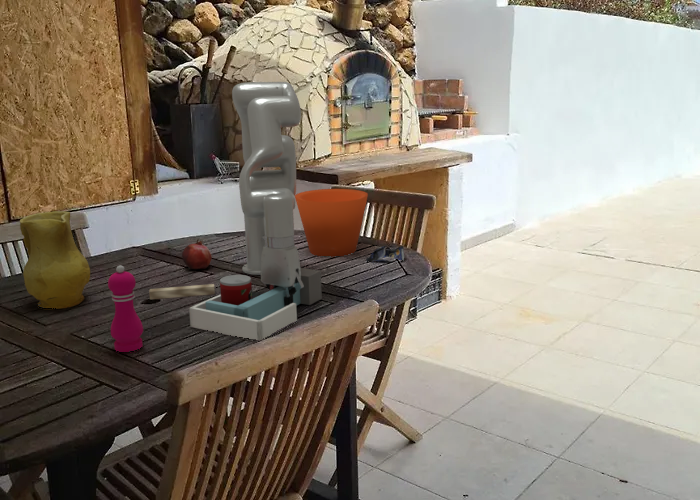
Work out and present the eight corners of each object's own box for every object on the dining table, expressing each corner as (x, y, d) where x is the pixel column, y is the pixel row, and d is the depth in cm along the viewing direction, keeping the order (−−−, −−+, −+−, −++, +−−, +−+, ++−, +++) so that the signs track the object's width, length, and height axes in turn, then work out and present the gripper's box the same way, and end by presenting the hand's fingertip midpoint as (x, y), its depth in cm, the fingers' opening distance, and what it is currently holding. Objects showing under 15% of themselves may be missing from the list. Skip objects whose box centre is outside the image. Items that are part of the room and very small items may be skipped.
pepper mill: (116, 342, 167) (107, 261, 162) (147, 341, 167) (139, 260, 162) (109, 354, 160) (99, 270, 155) (141, 353, 160) (132, 269, 155)
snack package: (385, 268, 224) (410, 260, 231) (382, 249, 223) (407, 241, 231) (360, 267, 233) (385, 260, 241) (357, 248, 232) (382, 241, 240)
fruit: (177, 271, 225) (174, 240, 222) (194, 263, 233) (192, 234, 231) (201, 273, 221) (199, 243, 219) (217, 265, 230) (215, 236, 227)
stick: (214, 292, 204) (214, 283, 203) (214, 295, 201) (214, 286, 201) (150, 297, 200) (149, 289, 200) (150, 300, 198) (149, 291, 197)
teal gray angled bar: (277, 290, 201) (276, 264, 199) (321, 298, 194) (320, 270, 192) (207, 324, 176) (204, 294, 174) (254, 334, 169) (253, 303, 167)
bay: (229, 308, 189) (227, 291, 187) (296, 322, 178) (296, 303, 177) (190, 326, 176) (189, 307, 175) (260, 342, 165) (259, 322, 164)
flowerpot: (346, 264, 229) (345, 204, 224) (283, 255, 241) (280, 198, 235) (381, 246, 250) (380, 191, 245) (321, 239, 262) (319, 186, 256)
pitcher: (30, 317, 185) (16, 224, 179) (25, 297, 201) (13, 212, 195) (98, 306, 193) (87, 217, 187) (88, 288, 209) (78, 205, 203)
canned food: (247, 326, 176) (245, 284, 173) (217, 324, 177) (214, 282, 175) (257, 315, 183) (255, 275, 180) (228, 314, 185) (226, 273, 182)
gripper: (245, 241, 182) (249, 308, 187) (297, 248, 174) (300, 318, 179) (263, 235, 188) (266, 300, 193) (314, 241, 180) (316, 309, 185)
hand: (283, 308), depth 186 cm, fingers closed on teal gray angled bar, 3 cm apart
